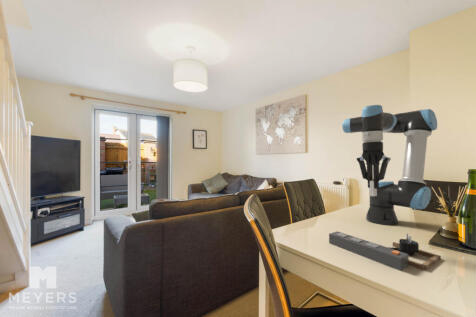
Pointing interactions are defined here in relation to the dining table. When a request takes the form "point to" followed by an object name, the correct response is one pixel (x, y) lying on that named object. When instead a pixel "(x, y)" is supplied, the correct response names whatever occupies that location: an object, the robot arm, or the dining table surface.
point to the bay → (427, 263)
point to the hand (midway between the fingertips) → (373, 195)
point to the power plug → (407, 246)
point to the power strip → (370, 250)
